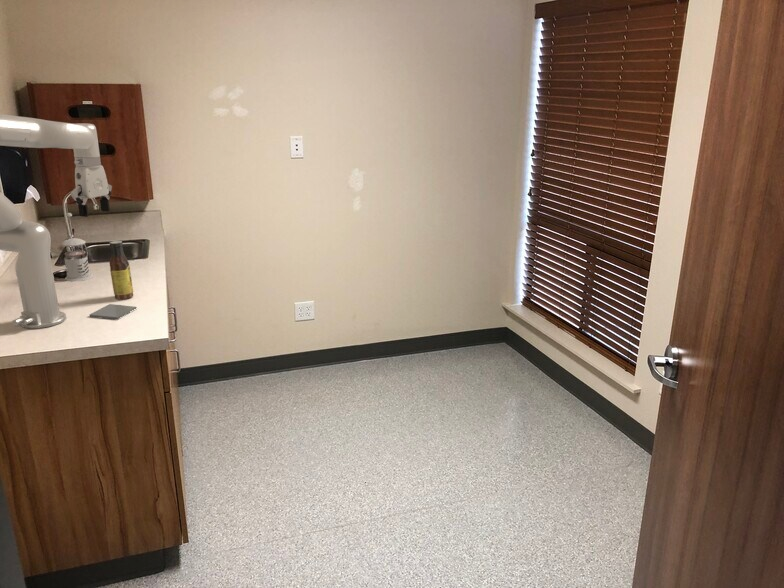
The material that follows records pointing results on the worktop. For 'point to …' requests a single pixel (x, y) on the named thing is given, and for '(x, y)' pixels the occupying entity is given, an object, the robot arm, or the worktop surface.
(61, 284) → the worktop surface
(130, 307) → the coaster
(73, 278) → the french press
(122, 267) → the sauce bottle
